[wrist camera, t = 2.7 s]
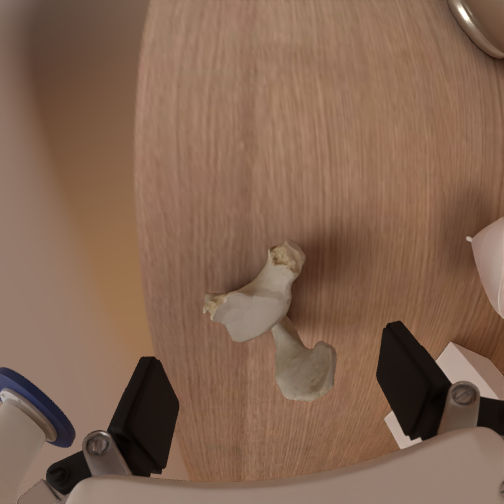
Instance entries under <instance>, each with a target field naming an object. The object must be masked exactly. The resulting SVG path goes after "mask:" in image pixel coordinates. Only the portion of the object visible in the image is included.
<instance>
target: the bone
mask: <svg viewBox="0 0 504 504" xmlns="http://www.w3.org/2000/svg"><path fill="white" fill-rule="evenodd" d="M305 258H306V256H305V254H304V253H303V252H302V250H301V249H300V247H299V246H298V245H297V244H296V243H295V242H293V241H291V240H289V239H285V242H284V243H282V244H280V245H278V246H277V245H276V246H273V247H271V248H270V249H269V250H268V260H267V263H266V265H265V267H264V268H263V270H262V271H261V272H260V274H259V275H258V277H257V278H256V279H254V280H253V281H252V282H250V283H249V284H247V285H246V286H244V287H243V288H241V289H239V290H237V291H232V292H228V293H221V294H218V293H208V294H206V295H205V302H206V304H205V306H204V307H203V313H207V312H209V313H211V317H210V319H211V320H212V321H215V322H219V323H221V324H223V325H225V327H226V329H227V330H228V332H229V334H230V336H231V338H232V340H233V341H235V342H239V343H241V342H246V341H249V340H251V339H253V338H256V337H258V336H260V335H262V334H264V333H265V332H267V331H268V330H270V329H271V331H272V334H273V336H274V340H275V345H276V354H275V368H276V372H275V380H276V383H277V384H278V386H279V388H280V390H281V393H282V395H283V396H284V397H285V398H287V399H291V400H294V399H295V400H297V401H313V400H315V399H317V398H319V397H320V396H323V395H326V394H327V393H328V392H329V391H330V390H331V389H332V388H333V386H334V374H335V367H336V351H335V349H334V348H333V347H332V346H331V345H329V344H327V343H325V342H323V341H320V342H318V343H317V344H316V345H315V346H314V348H313V349H308V348H306V347H305V346H304V345H303V343H302V341H301V339H300V337H299V335H298V333H297V330H296V329H295V327H294V325H293V323H292V322H291V320H290V319H289V318H288V317H287V316H286V314H287V312H288V310H289V307H290V304H291V298H292V295H291V286H292V283H293V281H294V280H295V279H296V278H297V277H298V276H299V275H300V273H301V271H302V266H303V264H304V262H305Z"/></svg>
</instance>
